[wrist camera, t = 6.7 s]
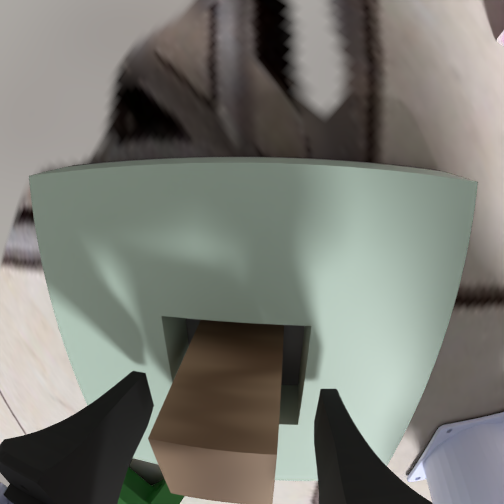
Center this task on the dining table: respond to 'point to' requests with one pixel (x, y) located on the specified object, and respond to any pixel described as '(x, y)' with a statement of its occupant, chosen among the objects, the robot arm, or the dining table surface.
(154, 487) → the clamp
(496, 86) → the dining table surface
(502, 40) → the lily
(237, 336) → the post
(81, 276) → the well block
